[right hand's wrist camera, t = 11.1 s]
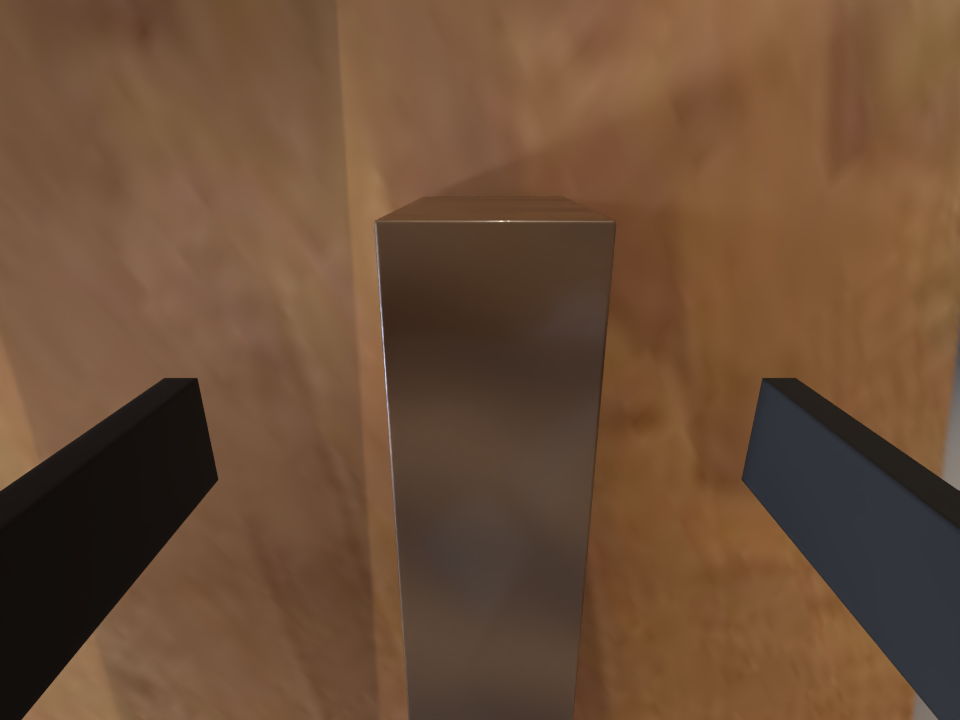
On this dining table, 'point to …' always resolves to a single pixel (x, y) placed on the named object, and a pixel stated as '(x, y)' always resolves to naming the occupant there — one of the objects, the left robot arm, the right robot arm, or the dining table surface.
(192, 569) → the dining table surface
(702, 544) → the dining table surface
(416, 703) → the bar
